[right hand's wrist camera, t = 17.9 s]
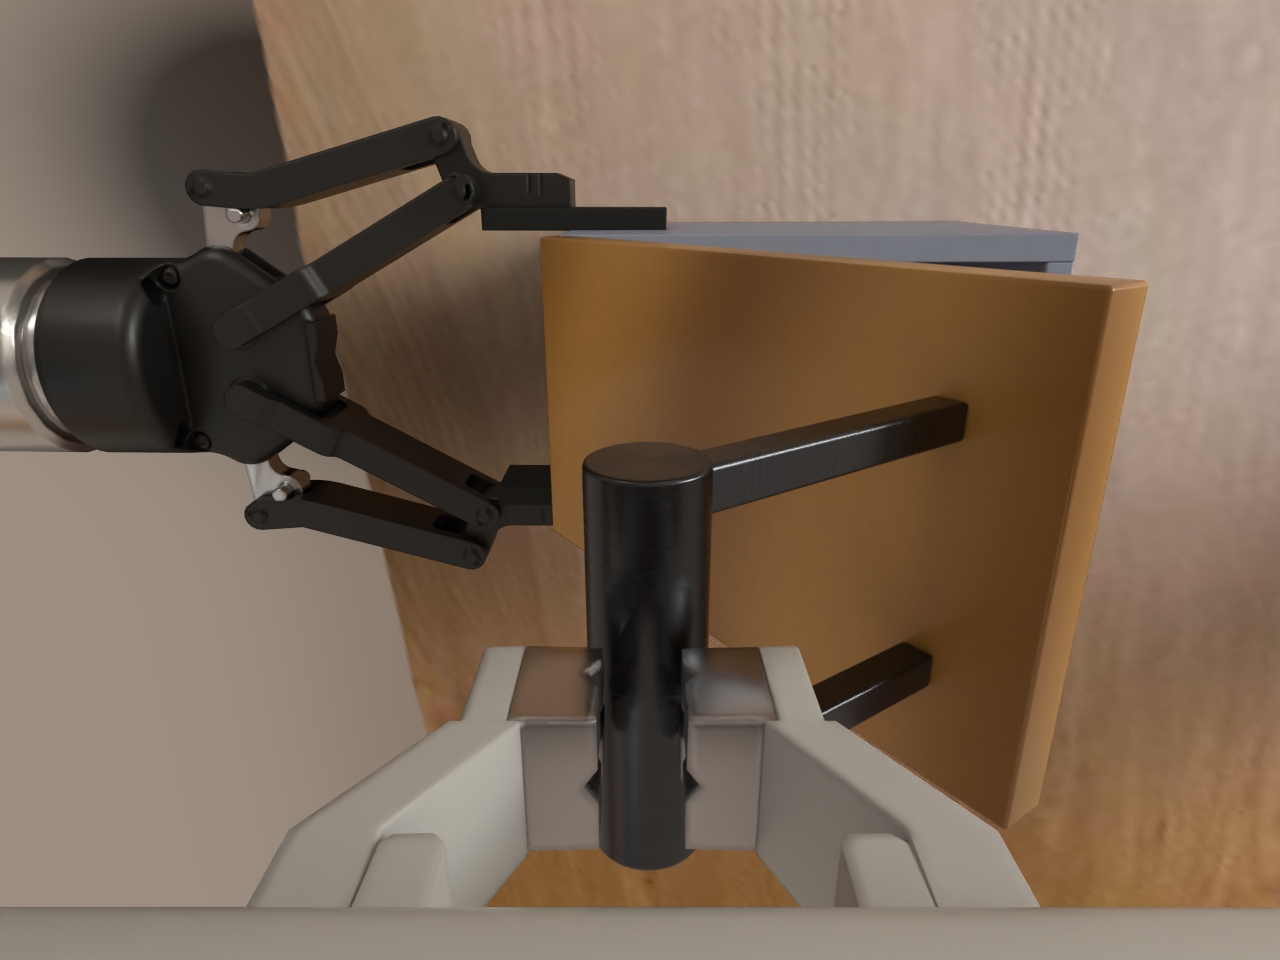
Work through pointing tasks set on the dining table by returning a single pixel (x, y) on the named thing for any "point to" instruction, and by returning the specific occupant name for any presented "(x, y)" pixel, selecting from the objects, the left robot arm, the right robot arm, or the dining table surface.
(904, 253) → the chest
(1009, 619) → the door
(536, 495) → the left robot arm
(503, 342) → the dining table surface
